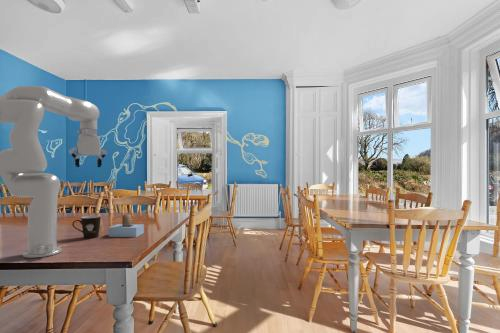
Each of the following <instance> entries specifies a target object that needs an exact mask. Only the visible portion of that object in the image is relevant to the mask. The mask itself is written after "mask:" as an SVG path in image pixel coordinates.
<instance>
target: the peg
mask: <svg viewBox="0 0 500 333" xmlns="http://www.w3.org/2000/svg"><path fill="white" fill-rule="evenodd" d="M121 219H122V220H121V224H122V227H131V224H132V215H131V214H122V217H121Z"/></svg>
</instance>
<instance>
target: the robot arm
mask: <svg viewBox="0 0 500 333" xmlns="http://www.w3.org/2000/svg"><path fill="white" fill-rule="evenodd" d="M45 111H47V112H50V113H53V114H56V115H58V116H59V115H61V116H66V118H67V119H69V120H70V121H73V122H80V123H79V128H80V129H77V130H76V133H78V134H79V135H78V138H77V144H76V146H75V147H73V148H70V149H69V150H68V152H69V154H70V157H71V156H72V158H73V159H74V166H75V167H76V168H80V157H81V156H85V157H87V156H89V157H95V156H96V158H97V160H96V163H97V167H96V168H101V166H102V162H103V161H102V160H103V159H104V158H105V157H106V155H107V154H108V151H107V150H106V149H103V148H102V147H101V140H100V136H98V119H99V118H100V110H99V108H98V106H96V105H95V104H94V103H92V102H90V101H87V100H84V99H79V98H76V97H71V96H66V95H64V94H61V93H59V92H57V91H55V90H53V89H50V88H48V87H46V86H41V85H20V86H16V87H14V88H12V89H9V91H7V92H5V93H4V94H2V95H0V124H1V123H2V124H14V125H13V127H12V128H11V130H10V133H9V134H8V135H9V136H8V139H9V143H10V146H11V148H7V149H6V148H5V149H3V150H1V151H0V177H1V179H2V181H3V183H4V184H5V187H6V189H7V190H8V192H9V194H11V196H14V197H16V198H33V199H32V201H31V202H30V204H29V205H28V208H27V250H25V251H23V252H22V257H23V258H28V259H29V258H30V259H34V258H37V259H38V258H45V257H50V256H53V255H57V254H60V253H61V252H62V248H61V247H60V246H58V245H57V244H58V198H59V194H60V188H61V181H60V179H59V177H58V176H57V175H55V174H52V173H47V172H44V171H45V170H46V169H47V168H48V162H47V161H48V160H47V158H46V155H45V153H44V150H43V147H42V145H41V142H40V139H39V134H38V133H39V128H40V125H41V123H42V120H43V119H44V117H45ZM74 151H76V154H75V153H74ZM101 152H102V153H101ZM101 154H102V155H101Z"/></svg>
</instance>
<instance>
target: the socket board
mask: <svg viewBox="0 0 500 333" xmlns="http://www.w3.org/2000/svg"><path fill="white" fill-rule="evenodd" d="M144 233H145V224H139V223H138V224H132V223H131V227H122V223H121V224H120V223H119V224H118V223H117V224H114V225H112V226H111V225H110V226H109V227H108V237H109V238H110V237H112V238H115V237H116V238H118V237H119V238H120V237H121V238H137V237H139V236H141V235H143V234H144Z"/></svg>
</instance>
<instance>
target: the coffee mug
mask: <svg viewBox="0 0 500 333" xmlns="http://www.w3.org/2000/svg"><path fill="white" fill-rule="evenodd" d="M101 218H102V215H85V216H81V217H80V219H81V220H80V219H76V220H73V221H72V227H73V228H74V229H75V230H77V231H78V232H81V233H82V236H83V239H87V240H89V239H90V240H91V239H97V238H99V234H100V228H101ZM76 222H79V223H80V224H81V227H82V228H81V229H82V230H81V229H79V228H77V227H76V226H75V225H74V224H75V223H76Z"/></svg>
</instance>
